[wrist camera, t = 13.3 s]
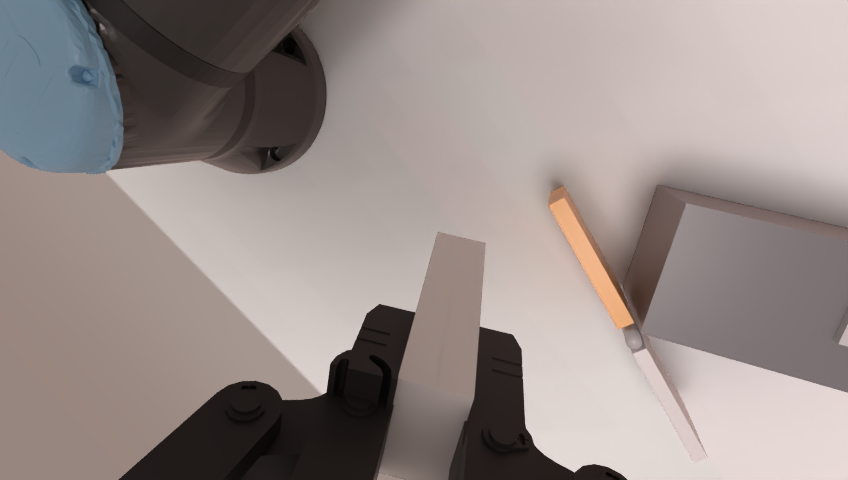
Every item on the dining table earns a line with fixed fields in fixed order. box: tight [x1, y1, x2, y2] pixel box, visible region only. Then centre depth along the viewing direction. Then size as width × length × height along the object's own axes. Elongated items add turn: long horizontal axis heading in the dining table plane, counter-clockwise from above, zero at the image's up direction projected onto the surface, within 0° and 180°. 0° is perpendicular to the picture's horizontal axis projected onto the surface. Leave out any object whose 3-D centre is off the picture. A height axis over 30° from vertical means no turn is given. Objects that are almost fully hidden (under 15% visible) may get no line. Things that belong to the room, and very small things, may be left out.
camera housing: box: [623, 185, 848, 392], centre depth 35 cm, size 18×9×11 cm, turn 78°
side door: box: [548, 186, 708, 463], centre depth 38 cm, size 21×1×8 cm, turn 31°
